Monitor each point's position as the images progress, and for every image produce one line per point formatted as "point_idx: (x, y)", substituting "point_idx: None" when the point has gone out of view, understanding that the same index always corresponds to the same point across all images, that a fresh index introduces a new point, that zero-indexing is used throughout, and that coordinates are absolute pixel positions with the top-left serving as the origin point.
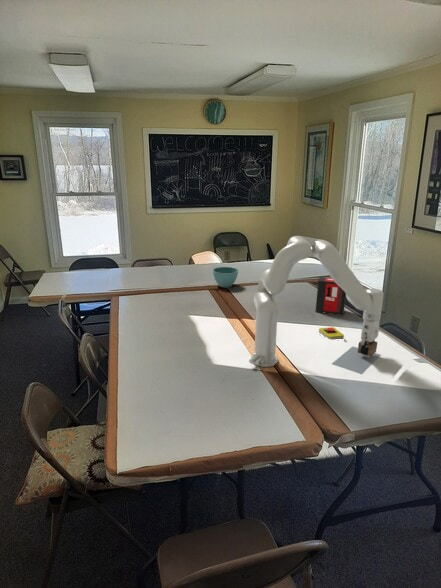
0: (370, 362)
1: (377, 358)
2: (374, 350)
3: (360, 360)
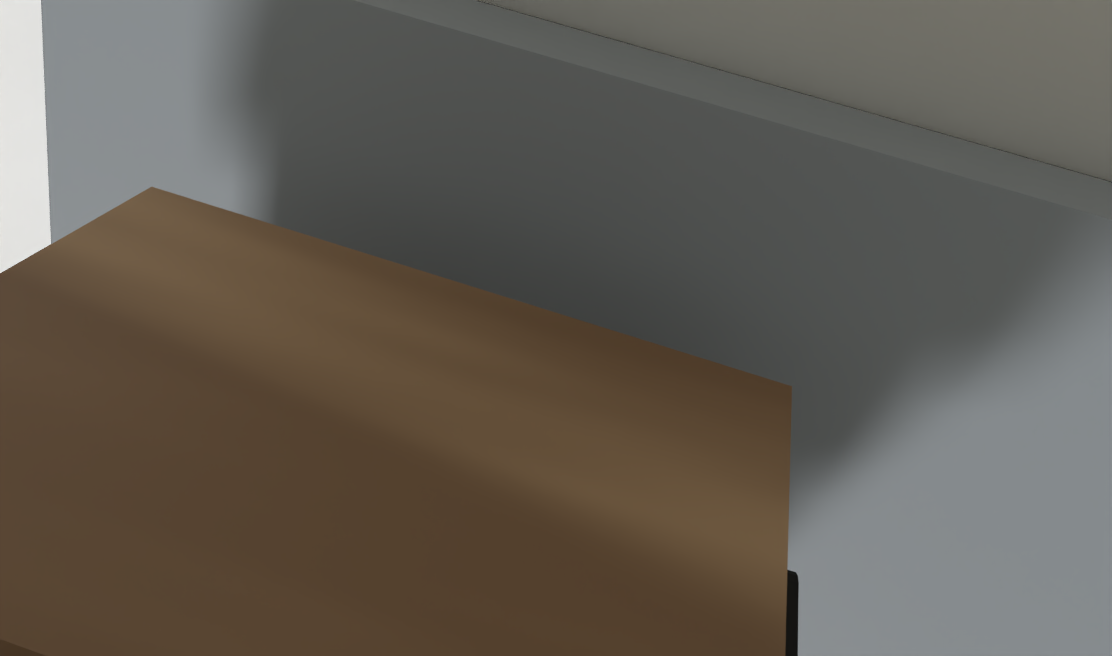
0: (992, 288)
1: (456, 33)
2: (342, 351)
3: (926, 603)
